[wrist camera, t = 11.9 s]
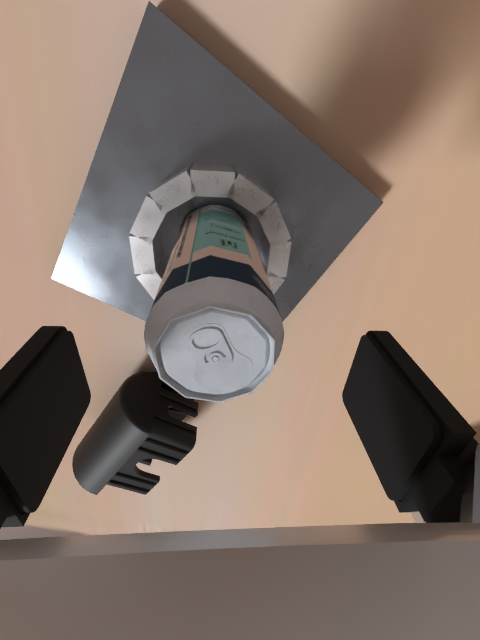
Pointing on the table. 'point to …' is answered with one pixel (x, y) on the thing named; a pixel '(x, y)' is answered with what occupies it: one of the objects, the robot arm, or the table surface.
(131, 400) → the end cap
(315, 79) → the table surface
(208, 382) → the beer can
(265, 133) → the grey square plate
